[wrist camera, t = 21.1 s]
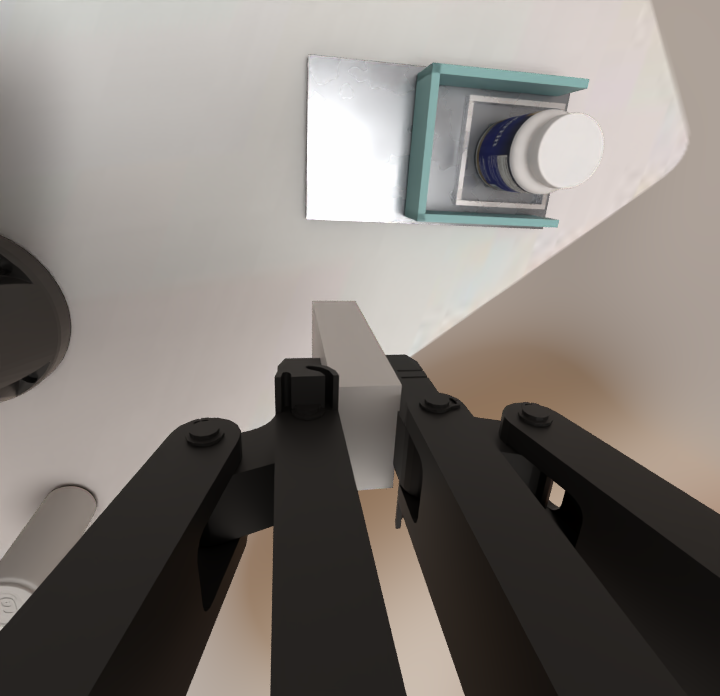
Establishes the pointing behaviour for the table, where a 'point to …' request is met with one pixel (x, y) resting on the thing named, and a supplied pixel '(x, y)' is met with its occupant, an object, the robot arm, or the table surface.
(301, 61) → the table surface
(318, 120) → the plate
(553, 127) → the pill bottle
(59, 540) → the beverage can
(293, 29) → the table surface
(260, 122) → the table surface
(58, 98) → the table surface
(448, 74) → the housing
